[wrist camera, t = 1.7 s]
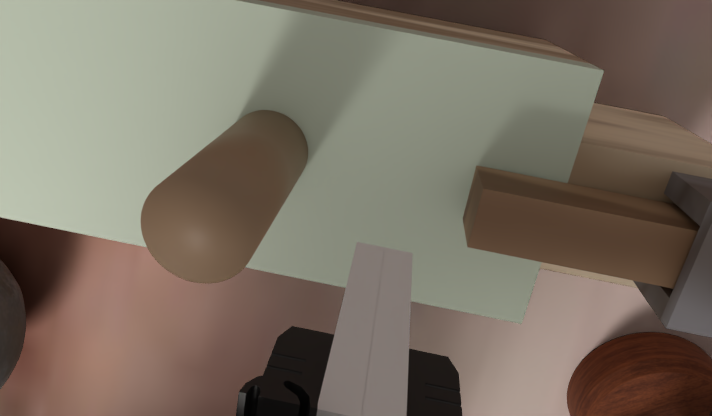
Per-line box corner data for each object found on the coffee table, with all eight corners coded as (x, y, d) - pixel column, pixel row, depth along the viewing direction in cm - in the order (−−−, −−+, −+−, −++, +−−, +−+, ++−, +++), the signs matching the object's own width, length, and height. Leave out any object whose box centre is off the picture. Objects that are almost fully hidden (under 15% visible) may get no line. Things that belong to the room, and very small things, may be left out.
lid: (515, 302, 30) (563, 469, 20) (17, 201, 31) (-180, 312, 21) (591, 63, 26) (702, 122, 16) (7, -48, 27) (-250, -62, 16)
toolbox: (614, 249, 39) (733, 419, 24) (110, 149, 40) (-75, 252, 25) (682, 66, 35) (880, 135, 20) (114, -43, 36) (-107, -54, 21)
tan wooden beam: (688, 263, 26) (720, 298, 23) (462, 218, 27) (467, 247, 24) (711, 211, 25) (746, 240, 23) (476, 165, 26) (483, 188, 23)
